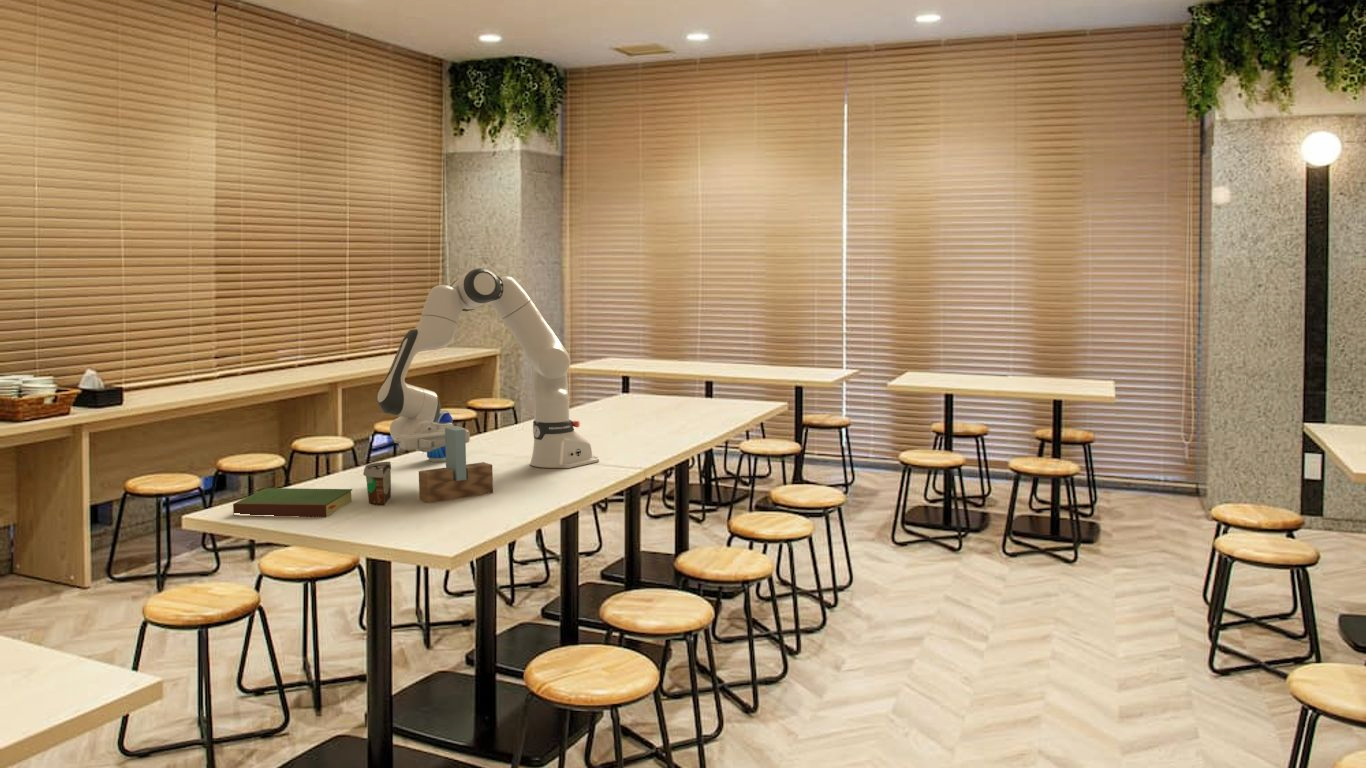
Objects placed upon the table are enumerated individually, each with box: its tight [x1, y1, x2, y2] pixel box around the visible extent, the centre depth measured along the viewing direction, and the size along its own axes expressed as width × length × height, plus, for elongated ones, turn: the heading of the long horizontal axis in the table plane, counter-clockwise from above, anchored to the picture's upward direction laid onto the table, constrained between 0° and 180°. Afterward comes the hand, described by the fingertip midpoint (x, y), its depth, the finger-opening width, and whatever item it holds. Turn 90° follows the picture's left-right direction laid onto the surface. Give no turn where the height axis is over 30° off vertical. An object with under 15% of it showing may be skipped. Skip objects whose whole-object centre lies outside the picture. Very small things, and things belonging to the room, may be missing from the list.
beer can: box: [426, 409, 454, 463], centre depth 352 cm, size 8×8×16 cm
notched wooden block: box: [418, 461, 494, 504], centre depth 299 cm, size 20×5×8 cm, turn 130°
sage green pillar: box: [445, 427, 467, 481], centre depth 298 cm, size 3×6×14 cm, turn 40°
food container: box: [363, 461, 392, 507], centre depth 292 cm, size 12×6×10 cm, turn 5°
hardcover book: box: [232, 487, 353, 518], centre depth 286 cm, size 25×19×4 cm
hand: (447, 442), depth 302 cm, fingers open, 8 cm apart
